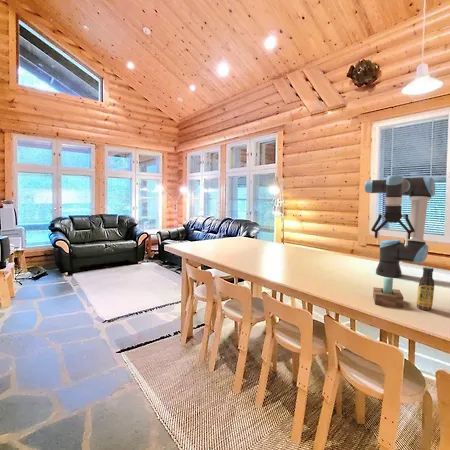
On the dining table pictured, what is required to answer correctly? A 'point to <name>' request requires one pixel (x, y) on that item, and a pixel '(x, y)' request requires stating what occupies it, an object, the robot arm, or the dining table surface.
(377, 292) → the socket block
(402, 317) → the dining table surface
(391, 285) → the dowel
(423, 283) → the sauce bottle
